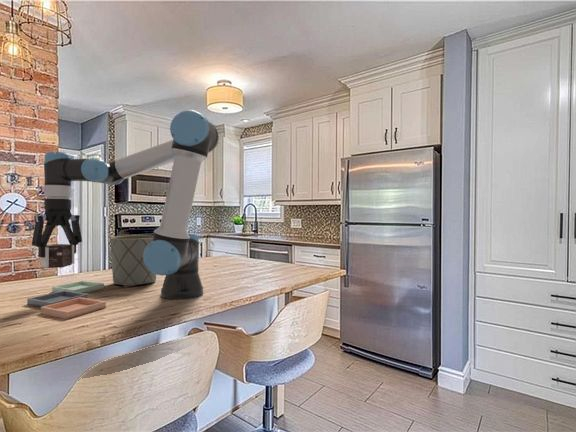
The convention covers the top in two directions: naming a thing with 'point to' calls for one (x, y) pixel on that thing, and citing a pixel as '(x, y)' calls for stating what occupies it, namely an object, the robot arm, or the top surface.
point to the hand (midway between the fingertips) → (58, 265)
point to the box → (60, 255)
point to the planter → (130, 260)
